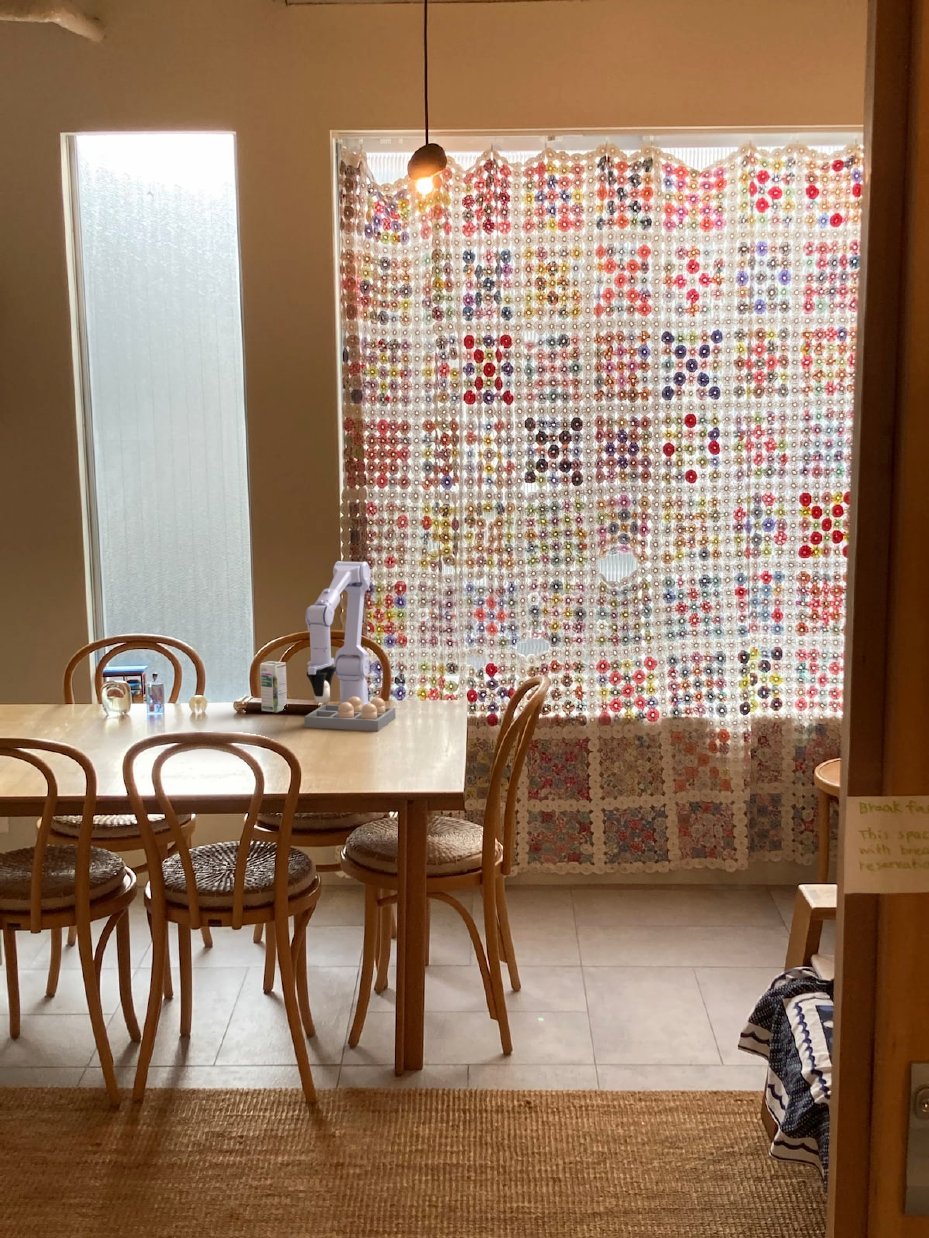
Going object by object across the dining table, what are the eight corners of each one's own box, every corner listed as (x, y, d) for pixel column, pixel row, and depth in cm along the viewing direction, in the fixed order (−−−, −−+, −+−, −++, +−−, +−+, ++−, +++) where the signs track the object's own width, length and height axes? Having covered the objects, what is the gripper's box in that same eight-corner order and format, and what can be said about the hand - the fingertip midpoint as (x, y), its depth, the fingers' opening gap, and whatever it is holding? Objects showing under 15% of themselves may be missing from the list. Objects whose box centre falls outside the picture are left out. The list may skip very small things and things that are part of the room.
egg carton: (324, 714, 341) (324, 691, 340) (395, 718, 336) (394, 695, 335) (304, 726, 327) (303, 703, 326) (378, 731, 321) (377, 707, 320)
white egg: (318, 698, 331) (317, 677, 330) (332, 699, 330) (331, 678, 329) (312, 702, 327) (311, 680, 326) (326, 703, 326) (326, 681, 325)
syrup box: (261, 711, 347) (258, 663, 344) (273, 706, 352) (271, 659, 349) (276, 712, 344) (274, 665, 342) (288, 708, 349) (286, 661, 347)
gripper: (317, 642, 334) (318, 687, 336) (297, 651, 320) (299, 699, 323) (340, 642, 332) (341, 689, 335) (320, 652, 319) (322, 700, 321)
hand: (322, 694), depth 328 cm, fingers closed on white egg, 4 cm apart
